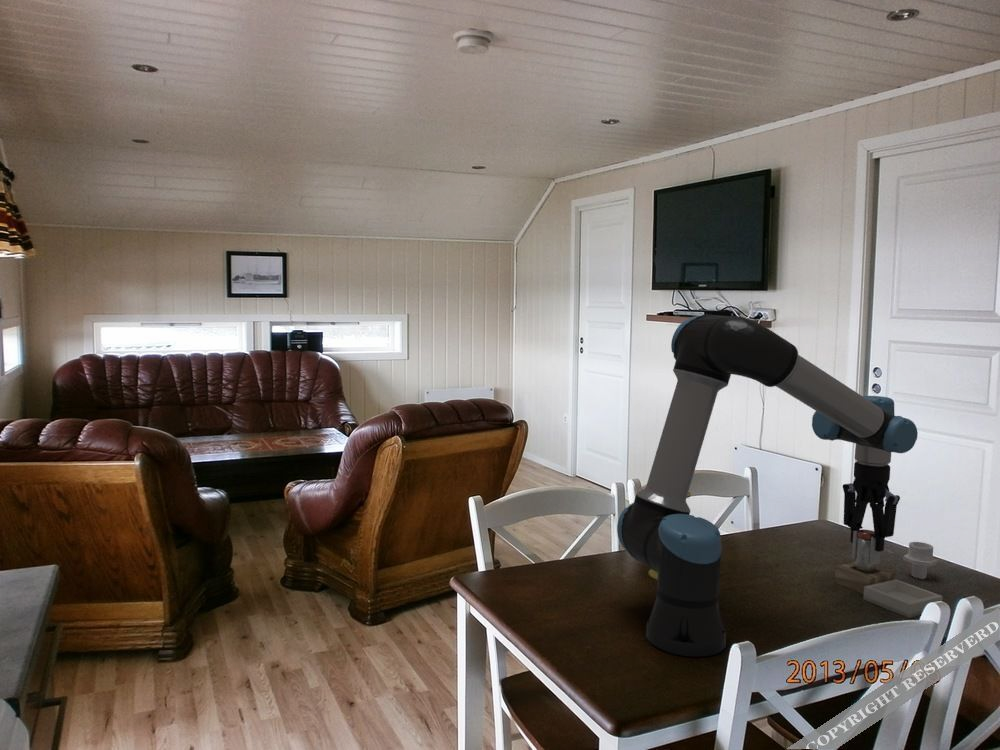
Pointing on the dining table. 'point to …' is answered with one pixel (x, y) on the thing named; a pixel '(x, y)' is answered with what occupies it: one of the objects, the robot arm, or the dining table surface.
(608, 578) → the dining table surface
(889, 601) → the dish
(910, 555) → the pipe fitting
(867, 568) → the grey tall cylinder
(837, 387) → the robot arm
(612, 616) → the dining table surface
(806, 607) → the dining table surface
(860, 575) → the socket block
